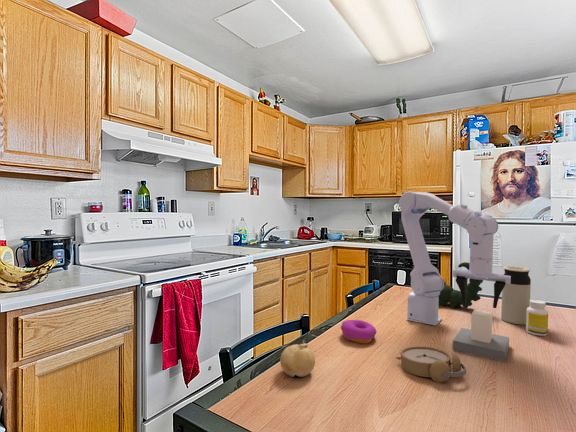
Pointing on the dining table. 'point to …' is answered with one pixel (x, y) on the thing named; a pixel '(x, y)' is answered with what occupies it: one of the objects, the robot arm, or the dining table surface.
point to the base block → (482, 345)
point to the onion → (297, 360)
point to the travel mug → (516, 295)
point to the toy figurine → (455, 296)
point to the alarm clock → (431, 363)
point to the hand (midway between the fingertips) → (479, 304)
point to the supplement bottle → (537, 318)
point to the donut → (358, 331)
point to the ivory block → (481, 326)
